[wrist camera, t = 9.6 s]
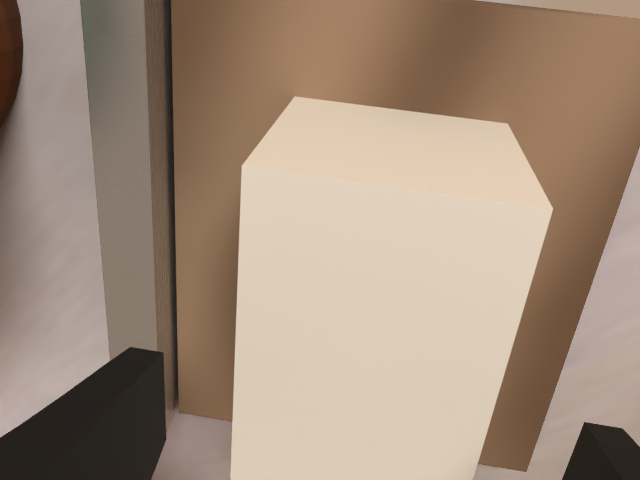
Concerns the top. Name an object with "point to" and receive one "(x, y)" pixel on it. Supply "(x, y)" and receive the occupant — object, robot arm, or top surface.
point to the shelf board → (410, 95)
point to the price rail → (135, 174)
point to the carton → (378, 291)
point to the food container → (9, 54)
